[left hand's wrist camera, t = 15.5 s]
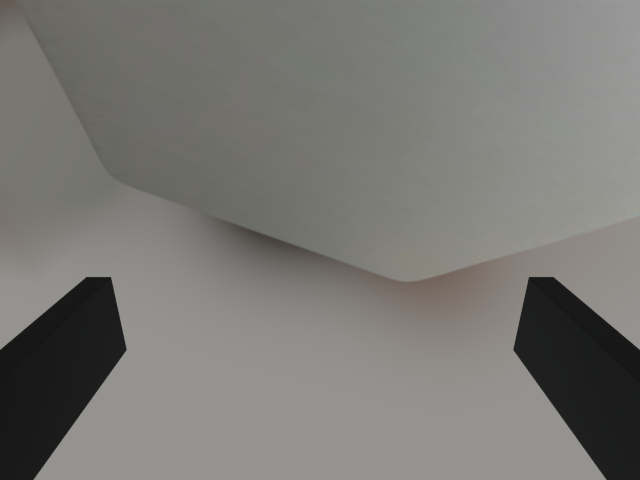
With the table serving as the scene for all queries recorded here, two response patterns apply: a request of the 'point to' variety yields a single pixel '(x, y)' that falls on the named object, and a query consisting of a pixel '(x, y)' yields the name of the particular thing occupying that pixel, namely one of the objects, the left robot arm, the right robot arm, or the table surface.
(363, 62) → the table surface
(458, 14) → the table surface
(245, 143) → the table surface
